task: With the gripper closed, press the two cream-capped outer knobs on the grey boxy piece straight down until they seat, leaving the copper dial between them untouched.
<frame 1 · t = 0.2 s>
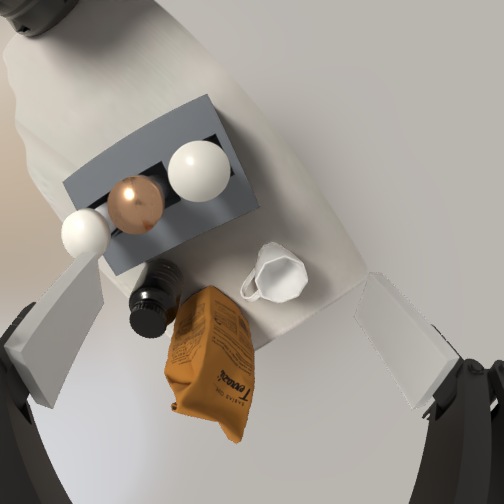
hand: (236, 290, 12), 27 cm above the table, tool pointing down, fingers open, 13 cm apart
knob 2: (202, 166, 25), point 11 cm above the table, slide at 0.0 cm
coffee package: (214, 316, 46), on the table
cup: (264, 260, 42), on the table
dial knob: (145, 196, 26), point 11 cm above the table, slide at 0.0 cm
grey boxy piece: (165, 180, 36), on the table
supplement bottle: (163, 277, 42), on the table
knob 1: (98, 224, 26), point 11 cm above the table, slide at 0.0 cm
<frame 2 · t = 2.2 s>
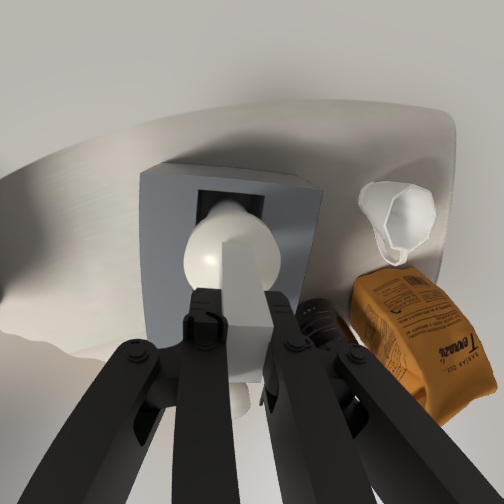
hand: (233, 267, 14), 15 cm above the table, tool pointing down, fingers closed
knob 2: (229, 236, 18), point 11 cm above the table, slide at 0.0 cm, touching gripper
coffee package: (383, 293, 36), on the table
cup: (372, 210, 31), on the table
grey boxy piece: (220, 257, 31), on the table
supplement bottle: (312, 316, 36), on the table
knob 1: (217, 369, 23), point 11 cm above the table, slide at 0.0 cm
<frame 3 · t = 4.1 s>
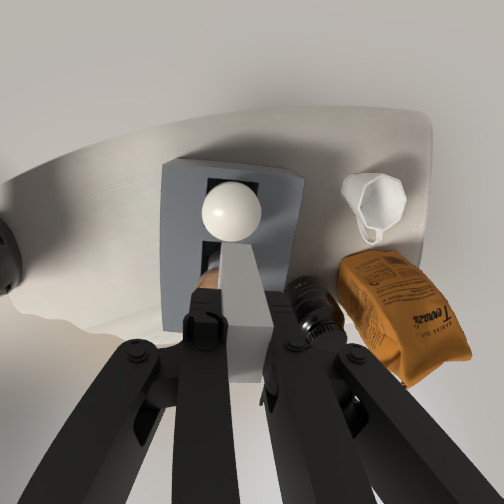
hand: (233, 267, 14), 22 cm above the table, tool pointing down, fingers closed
knob 2: (230, 202, 28), point 7 cm above the table, slide at 3.7 cm
coffee package: (368, 274, 42), on the table
cup: (354, 198, 36), on the table
dial knob: (224, 276, 27), point 11 cm above the table, slide at 0.0 cm
grey boxy piece: (223, 237, 36), on the table
supplement bottle: (304, 292, 42), on the table
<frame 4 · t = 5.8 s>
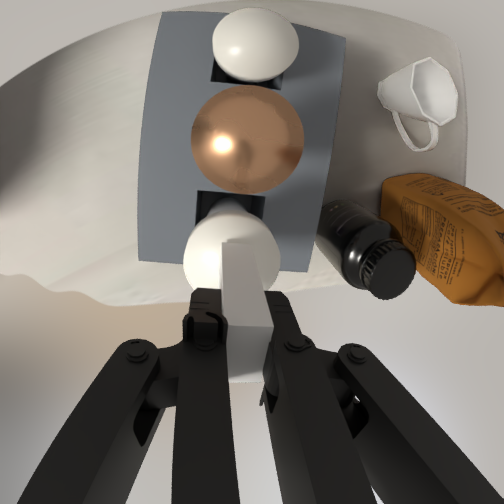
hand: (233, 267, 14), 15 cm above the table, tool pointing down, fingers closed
knob 2: (249, 58, 16), point 7 cm above the table, slide at 3.7 cm
coffee package: (412, 208, 31), on the table
cup: (392, 107, 25), on the table
dial knob: (241, 138, 15), point 11 cm above the table, slide at 0.0 cm
grey boxy piece: (233, 138, 25), on the table
supplement bottle: (338, 226, 31), on the table
knob 1: (229, 236, 18), point 10 cm above the table, slide at 0.5 cm, touching gripper
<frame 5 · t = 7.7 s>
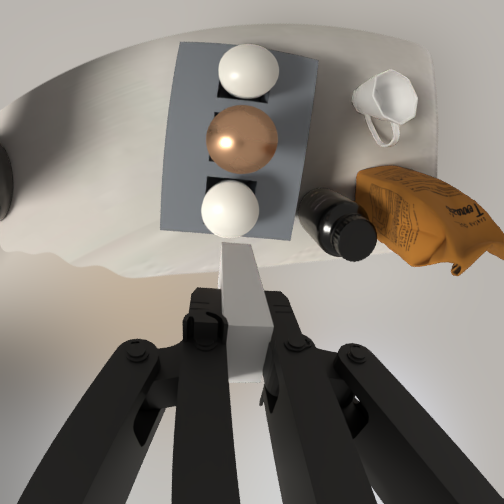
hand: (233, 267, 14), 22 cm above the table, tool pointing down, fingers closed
knob 2: (245, 79, 23), point 7 cm above the table, slide at 3.7 cm
coffee package: (385, 196, 38), on the table
cup: (365, 111, 32), on the table
dial knob: (238, 139, 22), point 11 cm above the table, slide at 0.0 cm
grey boxy piece: (233, 138, 32), on the table
supplement bottle: (319, 209, 37), on the table
knob 1: (229, 200, 28), point 7 cm above the table, slide at 3.7 cm
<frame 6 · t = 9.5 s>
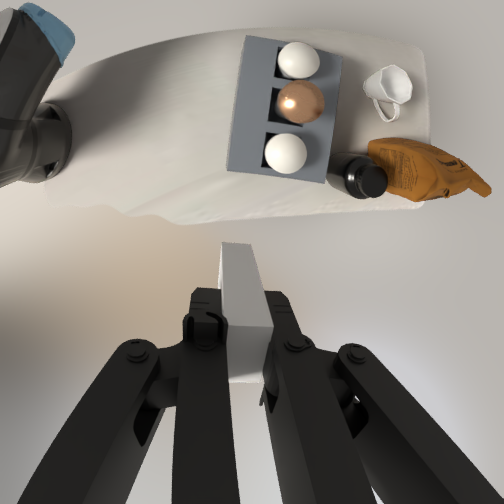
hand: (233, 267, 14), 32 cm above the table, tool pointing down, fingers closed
knob 2: (292, 66, 31), point 7 cm above the table, slide at 3.7 cm
coffee package: (390, 162, 46), on the table
cup: (373, 96, 40), on the table
dial knob: (293, 104, 30), point 11 cm above the table, slide at 0.0 cm
grey boxy piece: (276, 111, 40), on the table
supplement bottle: (340, 170, 45), on the table
knob 1: (280, 151, 36), point 7 cm above the table, slide at 3.7 cm
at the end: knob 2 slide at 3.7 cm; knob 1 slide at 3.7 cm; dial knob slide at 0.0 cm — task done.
